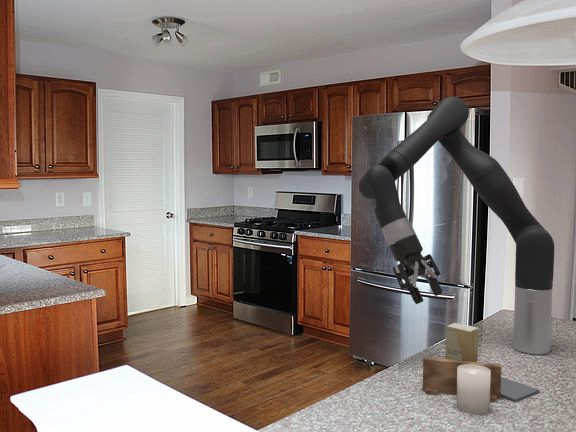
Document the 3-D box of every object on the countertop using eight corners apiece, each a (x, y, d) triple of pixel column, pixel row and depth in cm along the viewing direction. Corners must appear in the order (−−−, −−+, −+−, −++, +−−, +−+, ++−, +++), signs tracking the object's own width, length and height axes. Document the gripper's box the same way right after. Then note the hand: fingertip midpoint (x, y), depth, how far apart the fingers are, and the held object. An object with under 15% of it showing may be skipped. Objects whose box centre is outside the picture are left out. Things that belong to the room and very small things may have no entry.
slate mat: (502, 379, 126) (502, 377, 126) (539, 392, 118) (539, 389, 118) (478, 388, 121) (478, 385, 120) (515, 402, 113) (515, 399, 113)
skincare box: (443, 376, 128) (444, 325, 127) (452, 371, 131) (453, 321, 130) (469, 383, 123) (470, 330, 123) (478, 378, 127) (479, 327, 126)
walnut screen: (422, 393, 118) (422, 361, 117) (423, 385, 123) (424, 354, 122) (501, 402, 113) (501, 369, 112) (499, 393, 118) (500, 362, 117)
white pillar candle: (469, 398, 115) (470, 361, 114) (496, 409, 110) (497, 370, 109) (449, 406, 111) (450, 368, 111) (476, 417, 106) (477, 377, 106)
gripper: (407, 240, 146) (434, 297, 142) (374, 249, 136) (401, 310, 132) (428, 229, 140) (456, 287, 136) (395, 237, 131) (424, 300, 127)
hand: (429, 298), depth 134 cm, fingers open, 8 cm apart
